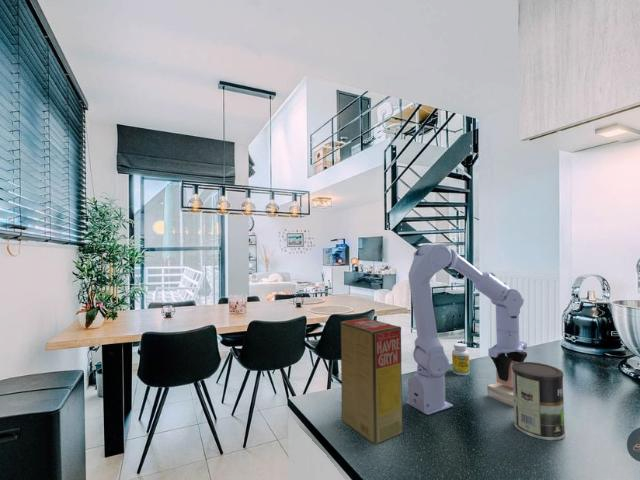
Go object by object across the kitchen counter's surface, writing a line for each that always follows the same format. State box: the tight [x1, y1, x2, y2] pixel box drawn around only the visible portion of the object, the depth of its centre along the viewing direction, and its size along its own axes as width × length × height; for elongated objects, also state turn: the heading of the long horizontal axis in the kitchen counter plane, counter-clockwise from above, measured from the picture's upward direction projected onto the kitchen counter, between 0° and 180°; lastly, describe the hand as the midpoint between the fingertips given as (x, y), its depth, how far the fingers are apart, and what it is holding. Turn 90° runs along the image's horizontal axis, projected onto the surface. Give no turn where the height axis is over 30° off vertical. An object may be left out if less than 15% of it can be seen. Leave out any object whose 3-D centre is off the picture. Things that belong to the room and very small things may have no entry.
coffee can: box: [512, 361, 566, 442], centre depth 80 cm, size 10×10×14 cm
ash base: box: [486, 381, 514, 408], centre depth 96 cm, size 8×8×3 cm
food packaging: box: [340, 317, 404, 446], centre depth 83 cm, size 13×9×25 cm
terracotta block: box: [495, 360, 518, 388], centre depth 96 cm, size 4×4×6 cm
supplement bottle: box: [451, 342, 471, 376], centre depth 116 cm, size 5×5×10 cm
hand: (509, 378), depth 96 cm, fingers closed on terracotta block, 4 cm apart
